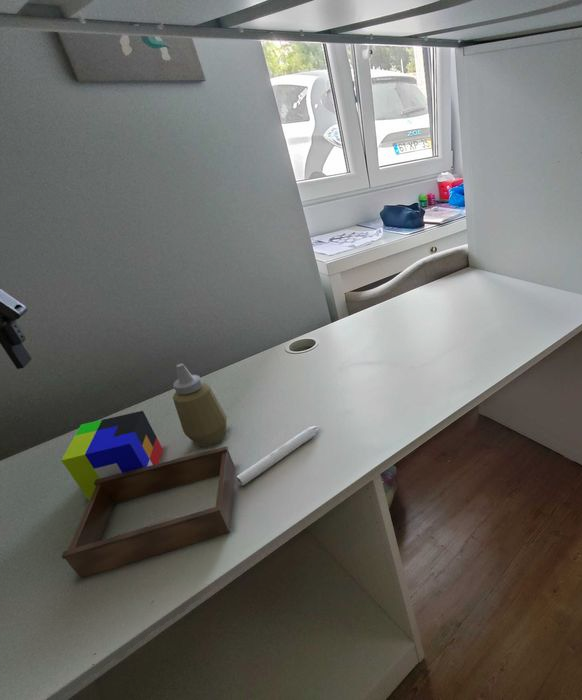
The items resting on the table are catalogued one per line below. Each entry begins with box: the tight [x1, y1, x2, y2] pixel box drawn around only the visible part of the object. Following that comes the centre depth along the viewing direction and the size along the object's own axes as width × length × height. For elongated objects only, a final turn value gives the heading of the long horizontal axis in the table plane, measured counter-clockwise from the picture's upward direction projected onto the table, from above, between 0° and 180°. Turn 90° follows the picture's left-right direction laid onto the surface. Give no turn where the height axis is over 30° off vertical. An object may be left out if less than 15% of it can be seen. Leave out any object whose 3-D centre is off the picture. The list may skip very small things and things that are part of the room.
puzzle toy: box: [61, 410, 164, 501], centre depth 82 cm, size 10×10×10 cm
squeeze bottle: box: [172, 363, 228, 447], centre depth 88 cm, size 8×8×18 cm
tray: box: [60, 445, 236, 579], centre depth 74 cm, size 21×16×6 cm
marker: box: [235, 425, 320, 487], centre depth 87 cm, size 18×2×2 cm, turn 145°
